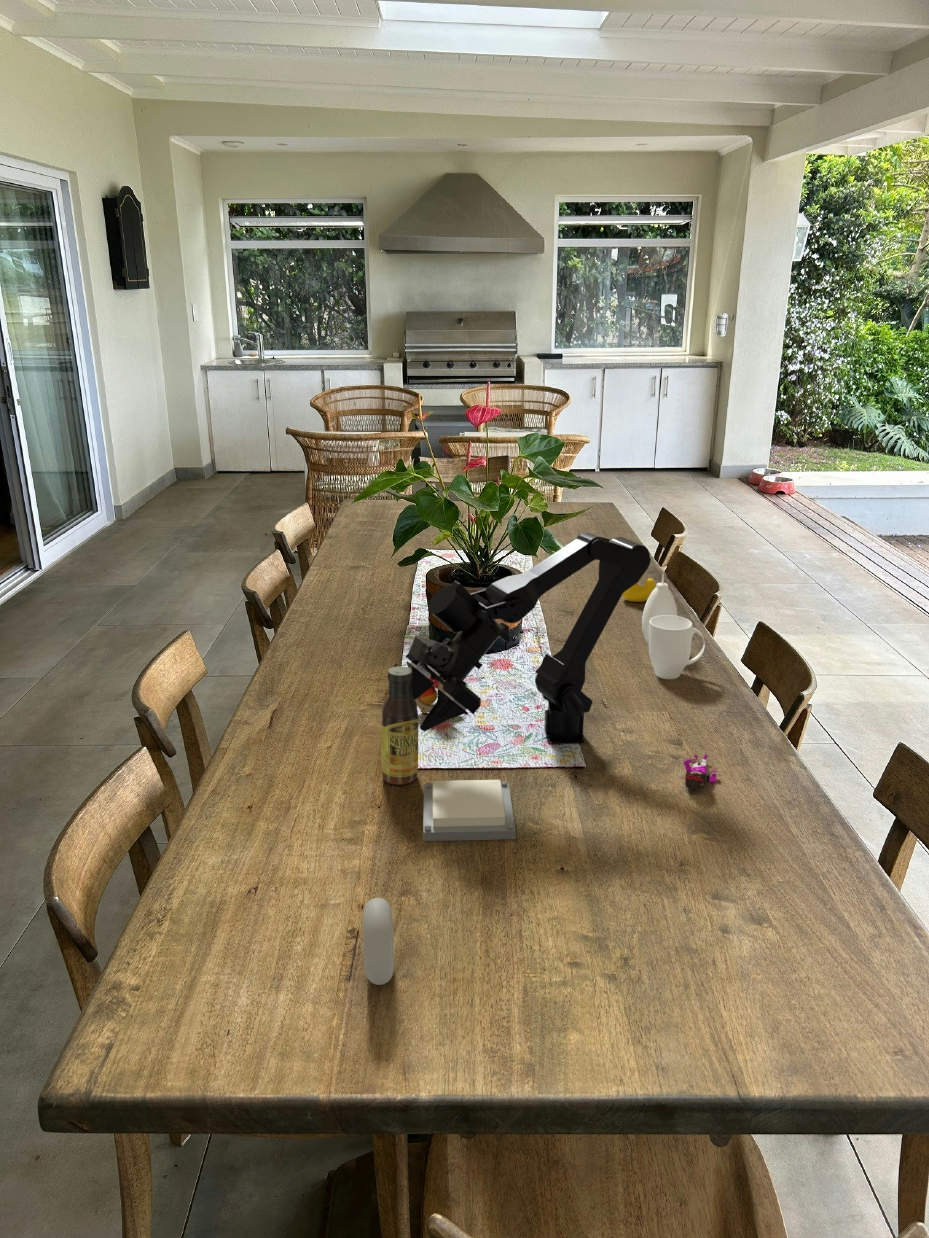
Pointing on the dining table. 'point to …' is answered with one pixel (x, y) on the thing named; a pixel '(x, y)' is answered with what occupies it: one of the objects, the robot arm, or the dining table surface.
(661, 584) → the sauce bottle
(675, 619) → the mug
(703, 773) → the character figurine
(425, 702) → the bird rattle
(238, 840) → the dining table surface
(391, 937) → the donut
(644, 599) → the duckling
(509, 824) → the tower base
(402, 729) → the sauce bottle
